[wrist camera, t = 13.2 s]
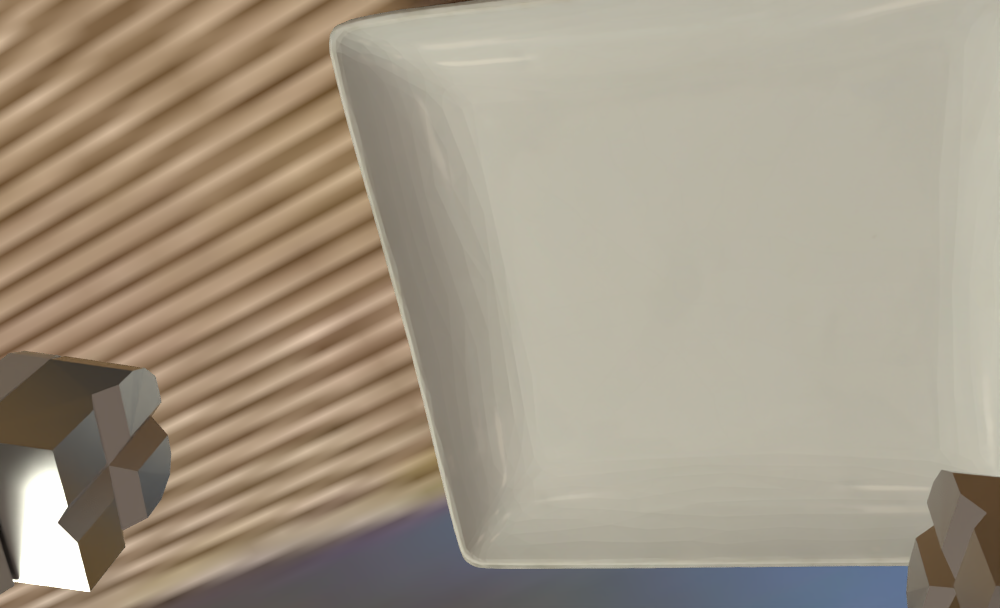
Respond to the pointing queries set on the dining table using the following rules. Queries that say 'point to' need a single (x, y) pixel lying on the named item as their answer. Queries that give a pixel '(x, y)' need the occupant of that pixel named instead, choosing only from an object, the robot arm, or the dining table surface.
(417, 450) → the dining table surface
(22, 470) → the robot arm
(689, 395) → the square plate
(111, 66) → the dining table surface
